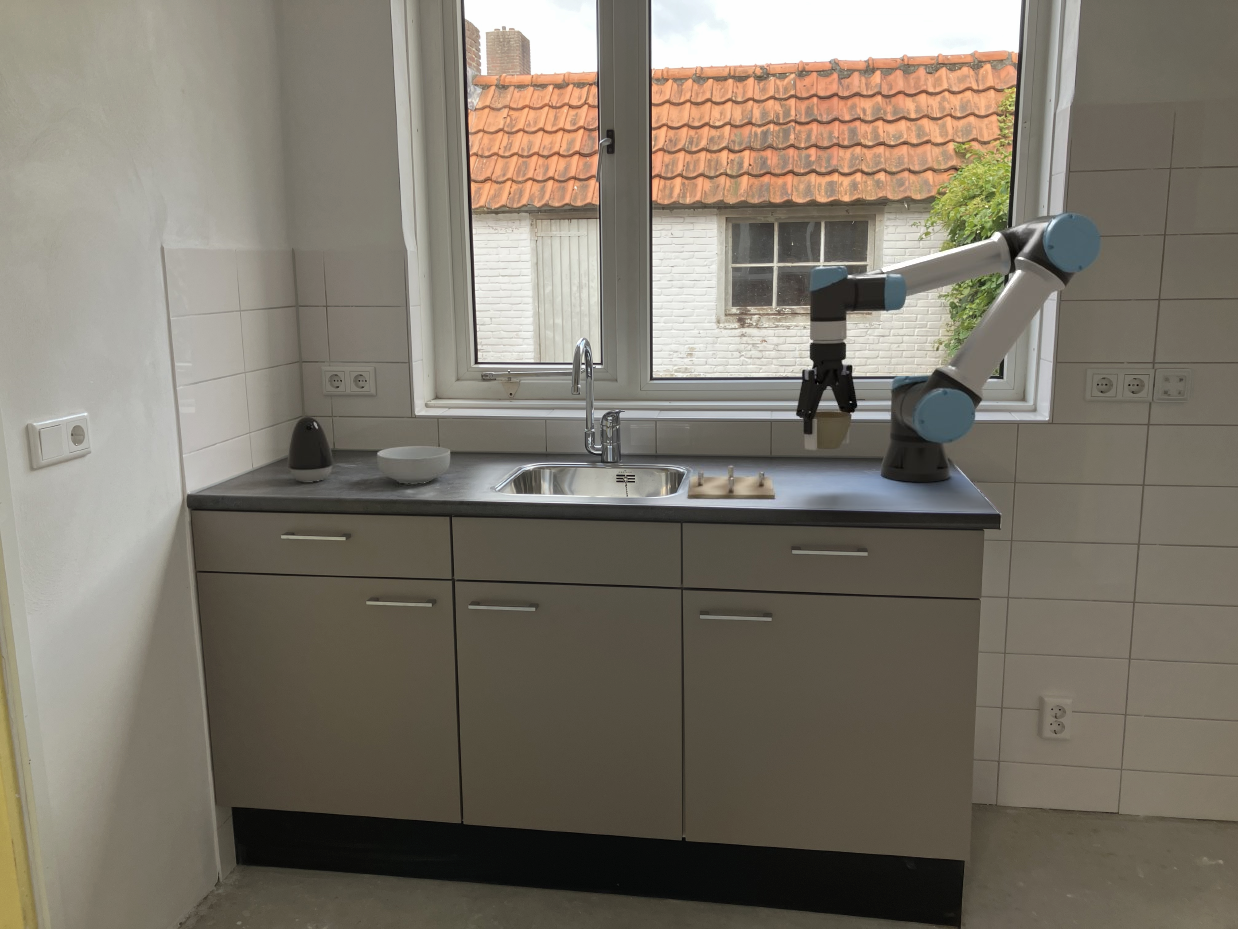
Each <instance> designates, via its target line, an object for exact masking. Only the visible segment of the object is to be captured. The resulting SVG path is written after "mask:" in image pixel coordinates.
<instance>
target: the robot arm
mask: <svg viewBox="0 0 1238 929" xmlns="http://www.w3.org/2000/svg"><path fill="white" fill-rule="evenodd" d="M1101 248H1102V239H1101V233H1100V230H1099V227H1098V226H1097V224H1095V222H1094V221H1093V220H1092V219H1091V218H1090V217H1088V216H1086V215H1083V214H1080V213H1076V212H1075V213H1074V212H1061V213H1059V214H1054V215H1053V214H1052V215H1042V216H1038V217H1035V218H1031V219H1029V220H1026V221H1024V222H1021V223H1018V224H1016V225H1014V226H1011V227H1008V228H1005V229H1002V230H999V231H996V232H993V233H992V235H991V237H990V238H987V239H983V240H980V241H976V242H973V243H968V244H965V245H961V246H957V247H954V248H949V249H946V250H942V251H939V252H935V253H932V254H928V255H923V256H920V257H918V258H914V259H910V260H909V259H908V260H906V261H902V262H899V263H895V264H892V265H887V266H884V267H880V268H878V269H872V270H869V271H865V272H862V273H861V272H859V273H854V274H848V269H847V267H846V266H845V265H842V266H841V265H839V266H838V265H837V266H816V267H814V268H813V269H812V270H811V271H810V279H809V280H810V282H809V289H808V291H809V324H810V325H809V340H810V341H812V342H810V344H809V360H810V361H812V364H813V365H812V368H810V369H802V371H801V386H800V390H799V396H798V401H797V406H796V411H795V412H796V413H795V416H796V417H798V418H800V419H803V420H802V421H803V434H804V449H805V450H810V451H817V450H818V448H817V419H814V417H815V414H816V411H818V408H819V405H820V403H821V401H822V397H823V394H824V392H825V391H827V388H828V387H830V388H831V392H832V393H833V396H834V399H835V402H836V404H837V406H838V409H839V412H846V413H850V414H854V413H855V411H856V409H857V408H858V400H857V394H856V389H855V383H854V378H853V377H854V376H853V369H854V368H853V365H852V364H847V363H845V364H844V363H843V361H844V360H846V359H847V343H846V342H845V340H846V339H847V338H848V337H847V336H848V335H847V313H852V312H853V313H854V312H890V311H900V310H901V309H903V307H904V306H905V304H906V299H907V297H910V296H915V295H917V294H922V293H925V292H929V291H932V290H936V289H940V288H944V287H947V286H950V285H951V286H952V285H955V284H958V283H962V282H966V281H970V280H973V279H977V278H982V277H985V276H989V275H992V274H997V273H998V274H1000V275H1001V276H1006V275H1011V274H1012V275H1011V276H1010V278H1009V279H1008V281H1007V282H1006V284H1004V286H1003V288H1001V290H1000V292H999V293H998V294H997V296H996V298H995V299H994V300H993V301H992V303H991V304H990V306H989V307H988V308H987V310H986V311H985V312H984V314H983V315H982V317H981V318H980V319H979V320H978V322H977V323H976V325H975V326H974V327H973V329H972V330H971V332H970V333H969V335H968V336H967V337H966V339H965V340H964V341H963V343H962V344H961V345H960V347H959V348H958V349H957V351H956V352H955V354H954V355H953V357H952V358H951V359H950V361H949V362H948V363H947V365H945V366H939V367H936V368H935V369H934V370H933V372H932V373H931V374H929V375H928V374H926V375H925V374H924V375H898V376H896V377H894V378H893V380H892V383H891V389H890V393H891V396H890V399H891V400H890V403H891V404H890V428H889V429H890V430H889V431H890V432H889V434H890V435H889V436H890V437H889V444H888V446H887V447H886V450H885V454H884V457H883V459H882V462H881V465H880V475H881V476H882V477H884V478H887V479H891V480H896V481H903V482H913V483H914V482H915V483H916V482H917V483H923V482H924V483H925V482H926V483H929V482H940V481H946V480H948V479H949V478H950V477H951V474H950V473H951V466H950V463H949V459H948V456H947V452H946V449H945V445H944V444H951V443H954V442H956V441H959V440H960V439H962V438H963V437H965V436H966V435H967V434H968V433H969V432H970V430H971V429H972V428H973V425H974V424H975V420H976V409H977V408H978V407H979V405H980V404H981V403H982V401H983V399H984V395H983V388H984V386H985V385H986V383H987V382H988V380H989V379H990V378H991V377H992V375H993V373H994V372H995V371H996V370H997V368H998V367H999V365H1000V364H1001V362H1002V361H1003V360H1004V358H1005V357H1007V355H1008V353H1009V352H1010V350H1011V349H1012V348H1013V346H1014V345H1015V344H1016V342H1017V341H1018V340H1019V338H1020V337H1021V336H1022V335H1023V333H1024V331H1025V330H1026V329H1027V327H1028V326H1029V325H1030V323H1031V322H1032V320H1034V318H1035V316H1036V315H1037V314H1038V312H1039V311H1040V310H1041V308H1042V307H1043V306H1044V304H1045V303H1046V301H1048V298H1049V297H1050V296H1051V294H1052V293H1056V292H1059V291H1063V290H1064V289H1066V287H1067V286H1068V284H1070V282H1071V281H1072V279H1073V278H1074V276H1075V275H1076V273H1080V272H1082V271H1084V270H1087V269H1088V268H1089V267H1090V266H1092V265H1093V264H1094V262H1095V261H1096V260H1097V258H1098V257H1099V254H1100V251H1101ZM809 412H810V413H809ZM849 443H850V426H849V429H848V432H847V434H846V436H845V438H844V440H843V442H842V444H849Z"/></svg>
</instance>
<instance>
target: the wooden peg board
mask: <svg viewBox="0 0 1238 929" xmlns="http://www.w3.org/2000/svg"><path fill="white" fill-rule="evenodd" d="M734 471H735V470H734V465H728V466H727V476H704V474H705V473H704V471H702V470H700V471H697V476H690V480H689V481H690V482H689V487H688V489H689V490H688V497H687V498H688V499H765V500H767V499H771V500H772V499H775V498H776V494H775V490H774V486H773V485H774V484H773V481H772V477H771V476H765V471H758V476H735V475H734V473H735V472H734Z"/></svg>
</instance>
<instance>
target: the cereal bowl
mask: <svg viewBox="0 0 1238 929" xmlns="http://www.w3.org/2000/svg"><path fill="white" fill-rule="evenodd" d="M376 460H377V461H376V462H377V466H378V469H379V470H380V472H381V473H382V474H383V475H384V476H386V477H388V478H389V479H392V480H394V481H396V482H397V483H398V482H399V483H398V484H401V483H423V484H425V483H424V482H428V483H430V482H429V481H431V480H432V481H433V479H435V478H438V477H440V476H442V475H443V474H445V472H446V471H447V470H448V468H449V466H450V464H451V450H450V449H448V448H447V447H446V448H445V447H439V446H429V445H428V446H426V445H425V446H423V445H420V446H419V445H417V446H415V445H414V446H412V445H411V446H399V447H397V446H396V447H389V448H386V449H382V450H380V451H377V453H376ZM432 481H431V482H432Z"/></svg>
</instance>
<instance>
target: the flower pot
mask: <svg viewBox="0 0 1238 929" xmlns="http://www.w3.org/2000/svg"><path fill="white" fill-rule="evenodd" d="M809 413H810V411H809ZM852 414H853V413H846V412H841V411H834V410H833V411H832V410H824V411H823V410H817V411H816V414H815V417H814V419H817V450H818V449H819V450H836V449H839V448H840V447H841V445H842V444H843V443H842V442H843V440H844V438H845V436H846V434H847V432H848V429H849V430H850V427H849V426H850V425H851V422H852Z"/></svg>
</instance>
